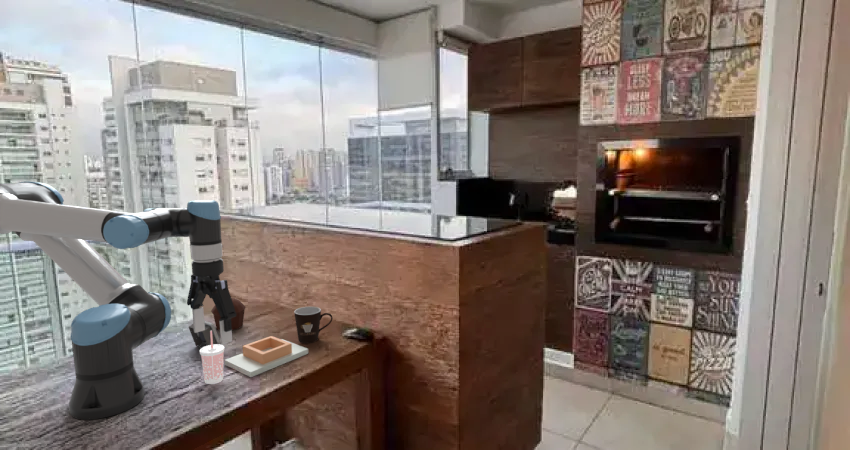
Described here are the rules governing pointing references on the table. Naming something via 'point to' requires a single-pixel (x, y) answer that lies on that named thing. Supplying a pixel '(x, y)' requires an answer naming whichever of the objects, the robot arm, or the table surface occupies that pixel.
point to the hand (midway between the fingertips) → (212, 336)
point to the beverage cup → (212, 362)
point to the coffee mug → (309, 323)
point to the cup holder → (265, 355)
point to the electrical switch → (205, 335)
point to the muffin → (235, 321)
